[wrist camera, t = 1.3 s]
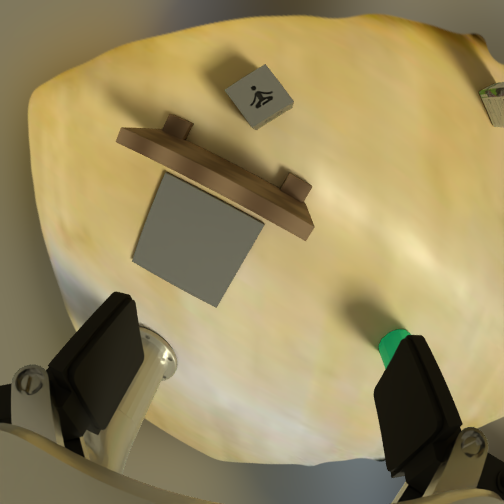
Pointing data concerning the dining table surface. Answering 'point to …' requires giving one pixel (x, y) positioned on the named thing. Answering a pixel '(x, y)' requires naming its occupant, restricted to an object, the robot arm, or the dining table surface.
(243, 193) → the walnut screen
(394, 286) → the dining table surface
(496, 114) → the syrup box
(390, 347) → the candle
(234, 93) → the dice cube
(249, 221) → the grey mat
